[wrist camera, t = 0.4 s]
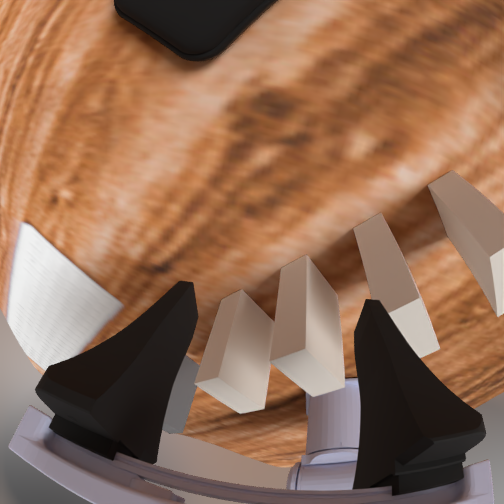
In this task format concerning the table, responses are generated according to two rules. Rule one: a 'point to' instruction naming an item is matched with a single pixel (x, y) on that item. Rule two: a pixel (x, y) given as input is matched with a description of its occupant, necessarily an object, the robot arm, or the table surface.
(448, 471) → the robot arm
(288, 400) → the table surface
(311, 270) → the domino
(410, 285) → the domino
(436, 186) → the domino
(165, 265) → the table surface
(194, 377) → the domino
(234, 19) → the carrying case or bag
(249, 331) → the domino
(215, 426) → the table surface
